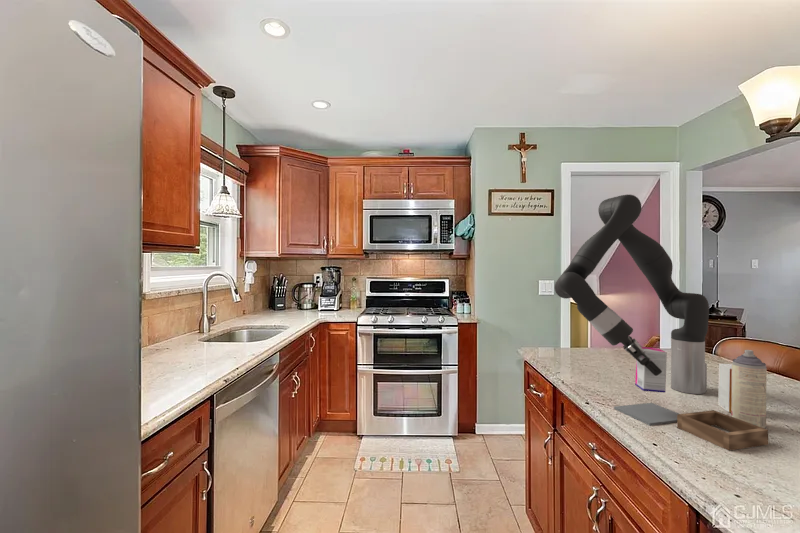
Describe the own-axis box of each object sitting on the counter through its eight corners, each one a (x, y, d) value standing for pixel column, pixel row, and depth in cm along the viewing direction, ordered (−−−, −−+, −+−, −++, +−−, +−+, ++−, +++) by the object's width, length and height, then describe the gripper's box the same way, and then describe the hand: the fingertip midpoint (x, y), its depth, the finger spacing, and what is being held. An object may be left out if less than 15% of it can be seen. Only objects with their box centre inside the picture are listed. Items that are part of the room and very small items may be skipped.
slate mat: (651, 404, 114) (651, 402, 114) (690, 420, 103) (690, 418, 103) (613, 408, 111) (613, 406, 111) (649, 425, 99) (649, 423, 99)
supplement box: (666, 393, 103) (667, 351, 103) (642, 391, 105) (643, 350, 104) (656, 386, 109) (657, 347, 109) (634, 384, 110) (635, 346, 110)
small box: (729, 413, 108) (729, 368, 108) (717, 405, 114) (718, 362, 114) (763, 416, 105) (764, 370, 105) (750, 408, 112) (750, 365, 111)
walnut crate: (713, 423, 101) (713, 410, 101) (768, 444, 89) (768, 429, 89) (677, 427, 98) (677, 414, 98) (729, 450, 86) (729, 435, 86)
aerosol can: (763, 424, 101) (763, 349, 100) (768, 433, 95) (769, 354, 95) (729, 417, 105) (730, 346, 104) (733, 426, 99) (733, 351, 99)
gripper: (622, 320, 104) (673, 368, 98) (619, 314, 117) (664, 357, 111) (600, 337, 106) (648, 385, 101) (600, 330, 119) (643, 372, 114)
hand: (657, 370), depth 106 cm, fingers closed on supplement box, 7 cm apart
